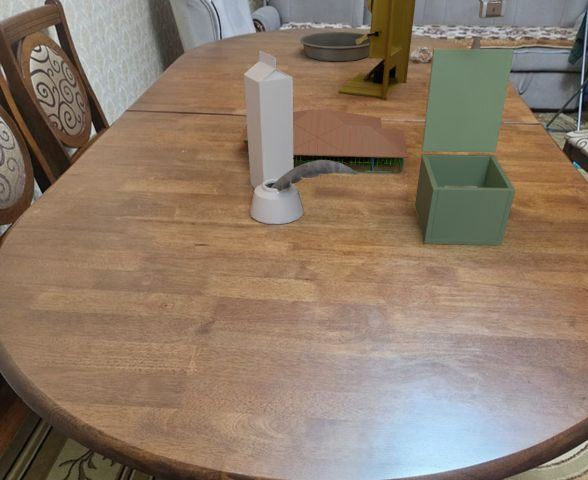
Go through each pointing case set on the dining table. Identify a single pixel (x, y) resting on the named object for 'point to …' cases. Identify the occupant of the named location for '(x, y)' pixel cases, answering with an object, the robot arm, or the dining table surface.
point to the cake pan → (335, 46)
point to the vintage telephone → (385, 48)
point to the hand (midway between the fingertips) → (491, 17)
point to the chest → (463, 199)
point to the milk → (269, 120)
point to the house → (344, 136)
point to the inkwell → (288, 192)
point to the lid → (466, 99)
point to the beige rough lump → (421, 54)
